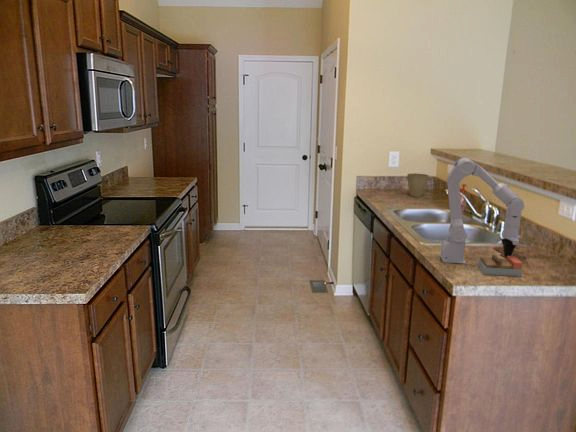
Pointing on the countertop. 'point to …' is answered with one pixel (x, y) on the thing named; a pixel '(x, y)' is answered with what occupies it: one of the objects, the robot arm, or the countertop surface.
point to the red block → (514, 262)
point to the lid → (496, 262)
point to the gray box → (499, 270)
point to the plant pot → (417, 183)
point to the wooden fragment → (513, 254)
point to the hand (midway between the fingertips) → (507, 256)
